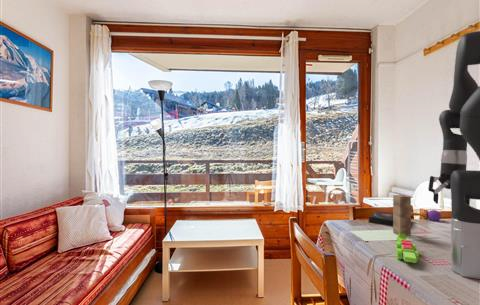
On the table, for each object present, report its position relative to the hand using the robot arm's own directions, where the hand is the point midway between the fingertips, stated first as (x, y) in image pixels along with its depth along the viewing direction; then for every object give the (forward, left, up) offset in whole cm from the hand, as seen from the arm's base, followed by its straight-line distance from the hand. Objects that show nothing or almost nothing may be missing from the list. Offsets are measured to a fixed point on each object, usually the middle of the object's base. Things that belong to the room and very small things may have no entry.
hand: (450, 205), depth 99 cm
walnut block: (+18, +14, -19) cm, 30 cm away
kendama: (+57, +2, -19) cm, 60 cm away
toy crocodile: (-9, +15, -19) cm, 26 cm away
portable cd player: (+40, +18, -20) cm, 48 cm away
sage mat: (+14, +22, -19) cm, 32 cm away
